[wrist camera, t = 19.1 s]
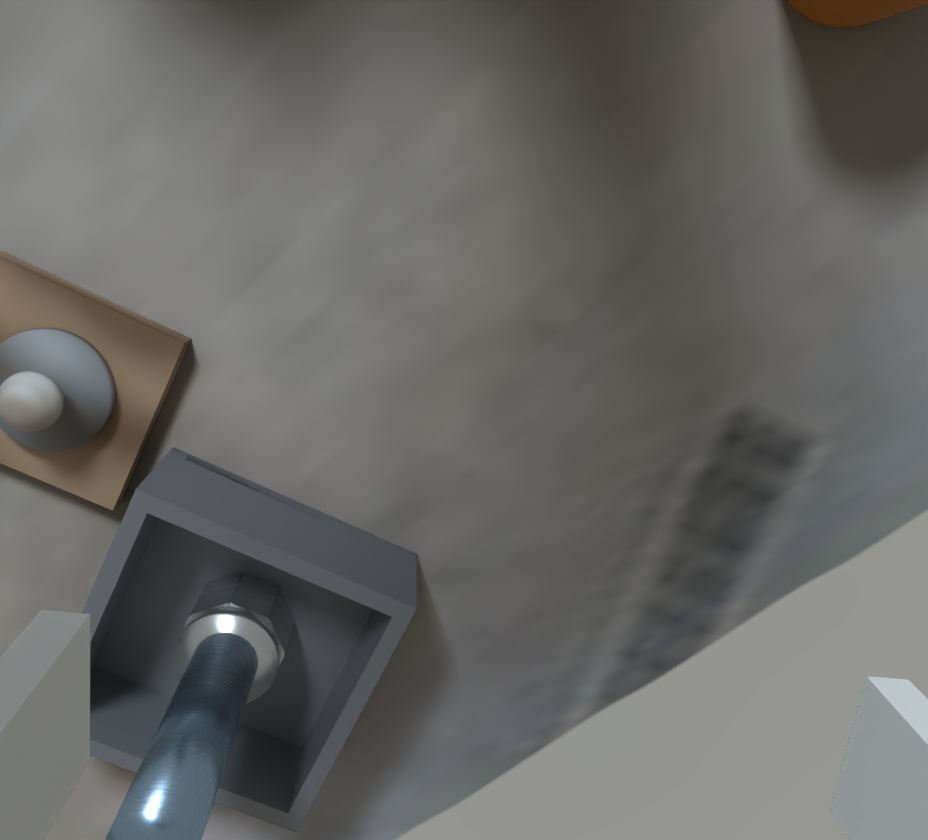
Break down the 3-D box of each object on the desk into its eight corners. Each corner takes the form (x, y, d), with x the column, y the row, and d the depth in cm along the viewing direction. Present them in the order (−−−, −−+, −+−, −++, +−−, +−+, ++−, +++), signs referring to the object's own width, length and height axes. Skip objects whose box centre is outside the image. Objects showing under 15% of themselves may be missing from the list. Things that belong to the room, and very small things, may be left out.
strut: (217, 559, 52) (107, 768, 34) (306, 597, 53) (246, 819, 35) (181, 637, 53) (56, 878, 35) (268, 672, 54) (191, 925, 36)
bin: (173, 447, 51) (135, 488, 44) (417, 554, 54) (416, 609, 47) (78, 664, 54) (30, 733, 48) (311, 755, 57) (296, 832, 50)
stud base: (2, 251, 47) (-57, 261, 41) (191, 338, 49) (160, 360, 43) (-61, 424, 50) (-125, 457, 44) (121, 501, 52) (83, 543, 46)
